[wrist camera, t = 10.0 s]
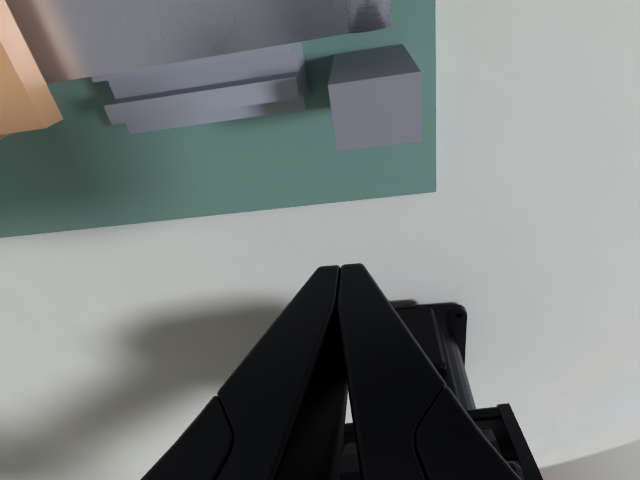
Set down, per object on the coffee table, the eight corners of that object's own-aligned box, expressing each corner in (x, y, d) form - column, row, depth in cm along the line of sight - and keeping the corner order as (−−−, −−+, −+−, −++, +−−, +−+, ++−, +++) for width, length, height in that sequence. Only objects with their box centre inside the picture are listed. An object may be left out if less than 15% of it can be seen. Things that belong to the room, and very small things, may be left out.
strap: (389, 22, 13) (394, 27, 12) (4, 86, 14) (-26, 97, 13) (382, -102, 11) (387, -111, 10) (-52, -15, 13) (-91, -13, 11)
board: (432, 182, 20) (459, 255, 15) (11, 228, 23) (-85, 301, 18) (426, -490, 10) (499, -944, 5) (-301, -247, 13) (-699, -379, 8)
